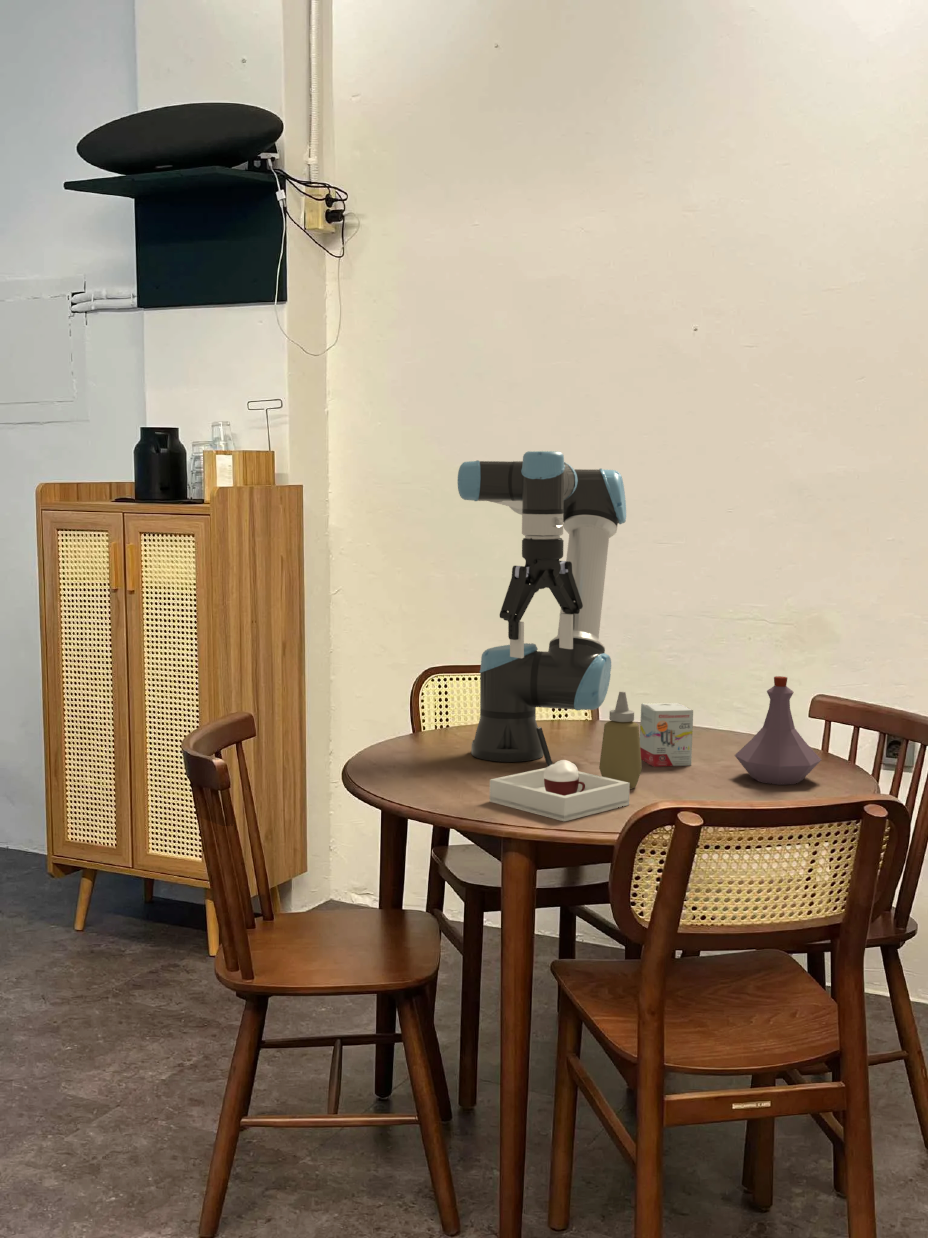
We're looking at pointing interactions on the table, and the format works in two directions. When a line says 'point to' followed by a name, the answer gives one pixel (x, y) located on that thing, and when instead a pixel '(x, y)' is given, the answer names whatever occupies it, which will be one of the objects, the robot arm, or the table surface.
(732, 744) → the table surface
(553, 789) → the cocoa
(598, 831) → the table surface
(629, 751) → the squeeze bottle
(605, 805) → the tray
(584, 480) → the robot arm
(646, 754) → the ink box
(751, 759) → the flask
